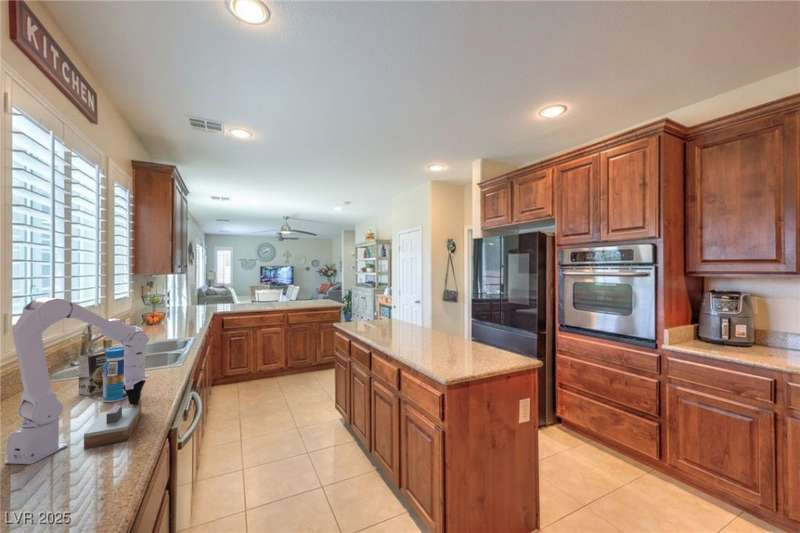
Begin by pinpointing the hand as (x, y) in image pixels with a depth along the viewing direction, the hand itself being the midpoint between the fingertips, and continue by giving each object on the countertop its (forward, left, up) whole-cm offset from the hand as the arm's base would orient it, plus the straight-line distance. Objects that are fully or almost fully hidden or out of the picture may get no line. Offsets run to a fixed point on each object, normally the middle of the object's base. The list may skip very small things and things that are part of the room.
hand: (134, 403), depth 116 cm
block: (+4, +2, -1) cm, 4 cm away
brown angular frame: (-7, 0, -5) cm, 9 cm away
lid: (-10, -2, -2) cm, 10 cm away
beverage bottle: (+16, +22, -6) cm, 28 cm away
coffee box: (+23, +38, -6) cm, 45 cm away
